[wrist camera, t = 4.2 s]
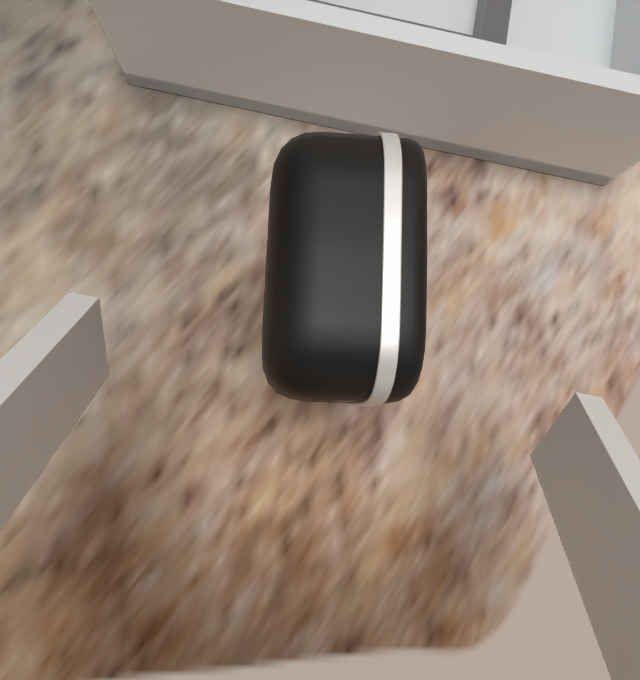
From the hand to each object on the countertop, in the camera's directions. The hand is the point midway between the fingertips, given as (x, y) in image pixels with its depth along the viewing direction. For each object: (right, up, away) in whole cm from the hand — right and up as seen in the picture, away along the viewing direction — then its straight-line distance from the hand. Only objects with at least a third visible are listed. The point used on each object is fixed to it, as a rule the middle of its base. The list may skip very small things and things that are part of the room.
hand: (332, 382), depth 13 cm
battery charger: (-1, +2, +8) cm, 9 cm away
